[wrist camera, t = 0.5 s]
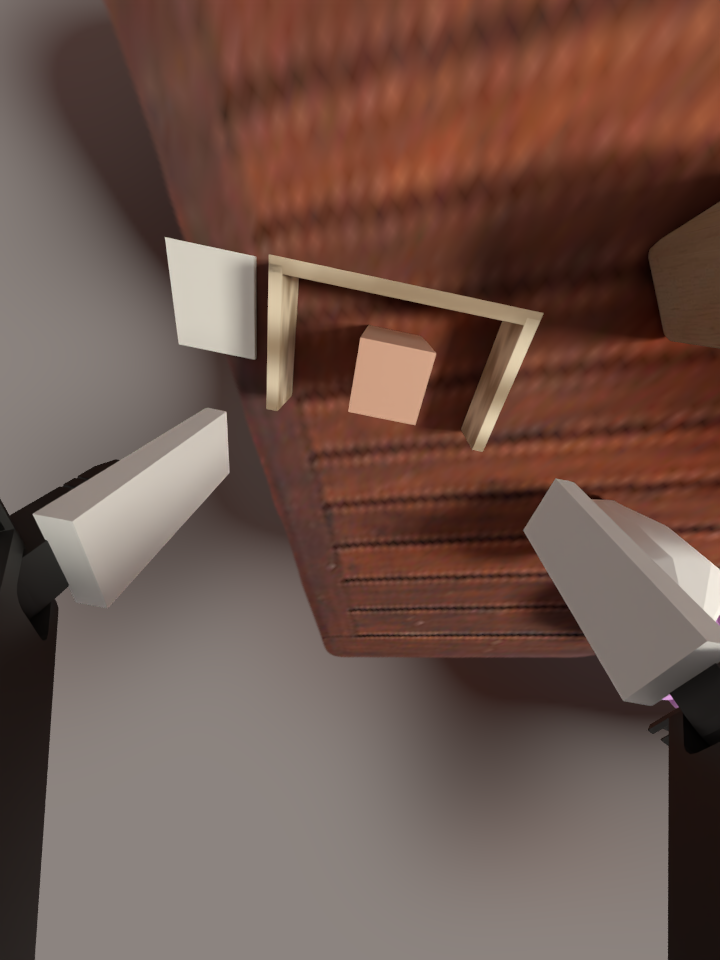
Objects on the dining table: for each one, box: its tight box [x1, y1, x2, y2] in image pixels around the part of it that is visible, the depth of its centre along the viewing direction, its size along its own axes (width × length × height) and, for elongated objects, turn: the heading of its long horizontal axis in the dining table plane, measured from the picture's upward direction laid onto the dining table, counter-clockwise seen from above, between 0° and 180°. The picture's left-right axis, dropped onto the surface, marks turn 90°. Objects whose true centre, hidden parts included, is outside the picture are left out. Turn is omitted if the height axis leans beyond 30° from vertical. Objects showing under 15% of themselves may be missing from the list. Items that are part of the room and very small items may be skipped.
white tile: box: [165, 237, 257, 360], centre depth 33 cm, size 10×9×1 cm
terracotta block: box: [348, 325, 436, 425], centre depth 30 cm, size 6×6×12 cm
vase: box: [591, 499, 720, 622], centre depth 34 cm, size 14×14×25 cm
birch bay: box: [266, 254, 544, 452], centre depth 32 cm, size 14×24×6 cm, turn 80°
